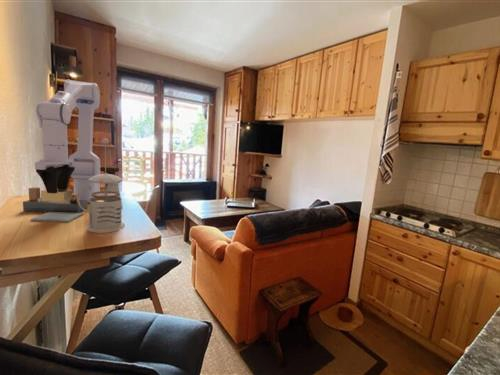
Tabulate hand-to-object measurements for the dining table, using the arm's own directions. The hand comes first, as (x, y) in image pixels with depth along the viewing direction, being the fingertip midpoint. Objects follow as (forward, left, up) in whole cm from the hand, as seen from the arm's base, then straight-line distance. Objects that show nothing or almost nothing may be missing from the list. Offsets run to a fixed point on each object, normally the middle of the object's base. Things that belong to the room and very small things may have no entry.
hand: (57, 191), depth 74 cm
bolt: (-13, +9, -8) cm, 18 cm away
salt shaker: (-5, +13, -8) cm, 17 cm away
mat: (0, 0, -8) cm, 8 cm away
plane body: (-8, -5, -8) cm, 12 cm away
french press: (+7, +15, -8) cm, 19 cm away
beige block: (0, 0, -3) cm, 3 cm away
